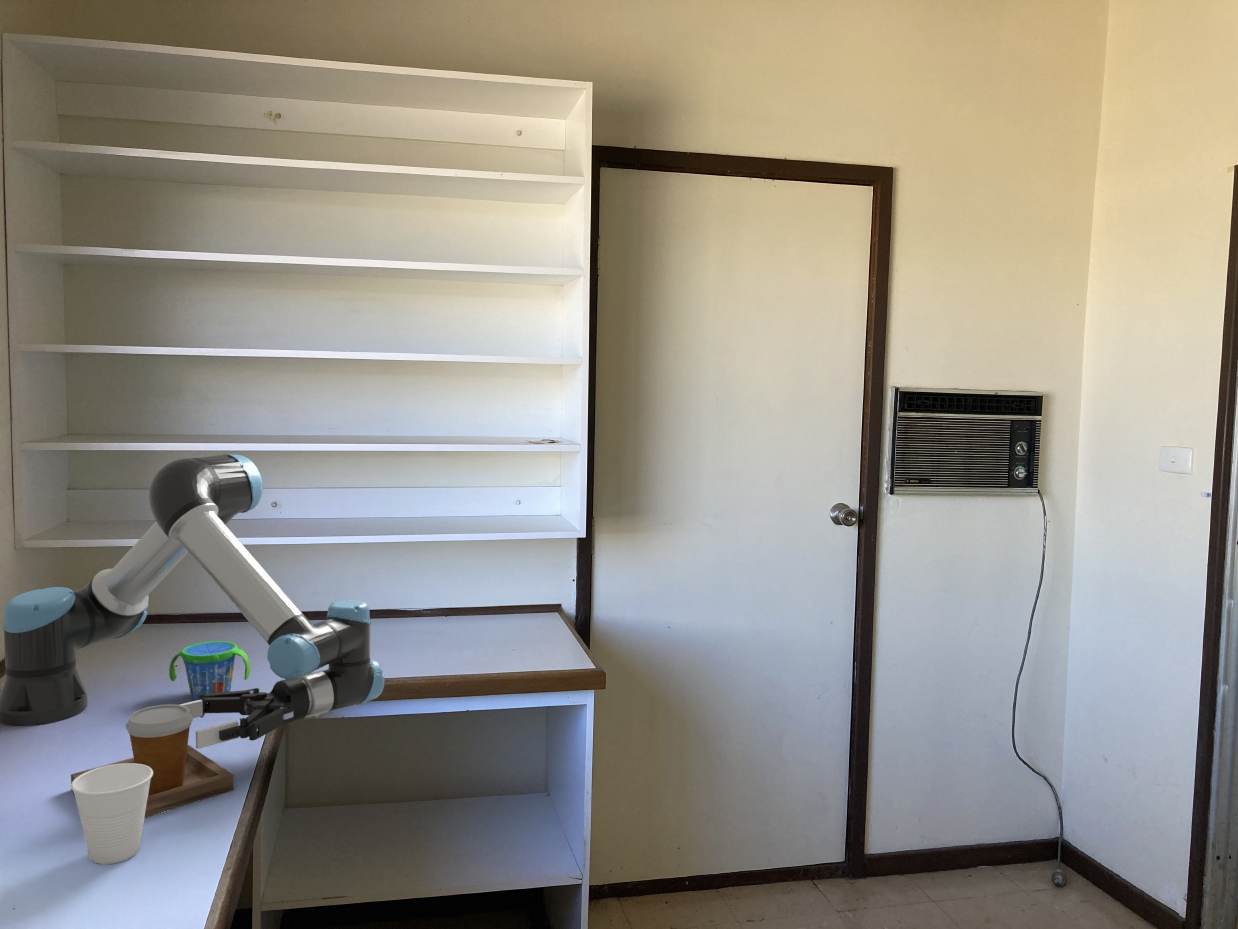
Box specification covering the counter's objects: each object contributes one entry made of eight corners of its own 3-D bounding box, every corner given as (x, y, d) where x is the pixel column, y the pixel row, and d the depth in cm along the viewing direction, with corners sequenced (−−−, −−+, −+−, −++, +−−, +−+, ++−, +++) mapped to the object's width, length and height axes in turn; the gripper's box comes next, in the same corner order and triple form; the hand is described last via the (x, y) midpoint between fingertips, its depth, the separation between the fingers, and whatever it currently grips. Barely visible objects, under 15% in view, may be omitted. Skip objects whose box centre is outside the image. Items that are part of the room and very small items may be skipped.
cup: (136, 829, 134) (134, 756, 133) (167, 852, 128) (166, 776, 127) (61, 855, 127) (58, 778, 126) (91, 881, 120) (88, 800, 119)
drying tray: (71, 789, 147) (70, 774, 146) (186, 757, 160) (186, 743, 160) (113, 828, 135) (112, 811, 134) (233, 789, 148) (233, 774, 148)
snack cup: (160, 703, 186) (159, 654, 185) (185, 686, 196) (184, 639, 195) (237, 705, 186) (236, 656, 185) (258, 688, 196) (257, 641, 195)
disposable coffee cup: (190, 796, 143) (188, 721, 142) (121, 804, 140) (119, 727, 139) (197, 771, 152) (196, 701, 151) (133, 778, 149) (131, 706, 148)
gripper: (337, 737, 157) (212, 774, 141) (268, 700, 173) (149, 729, 158) (337, 694, 156) (212, 726, 140) (267, 661, 173) (148, 687, 157)
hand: (178, 728), depth 149 cm, fingers open, 13 cm apart
